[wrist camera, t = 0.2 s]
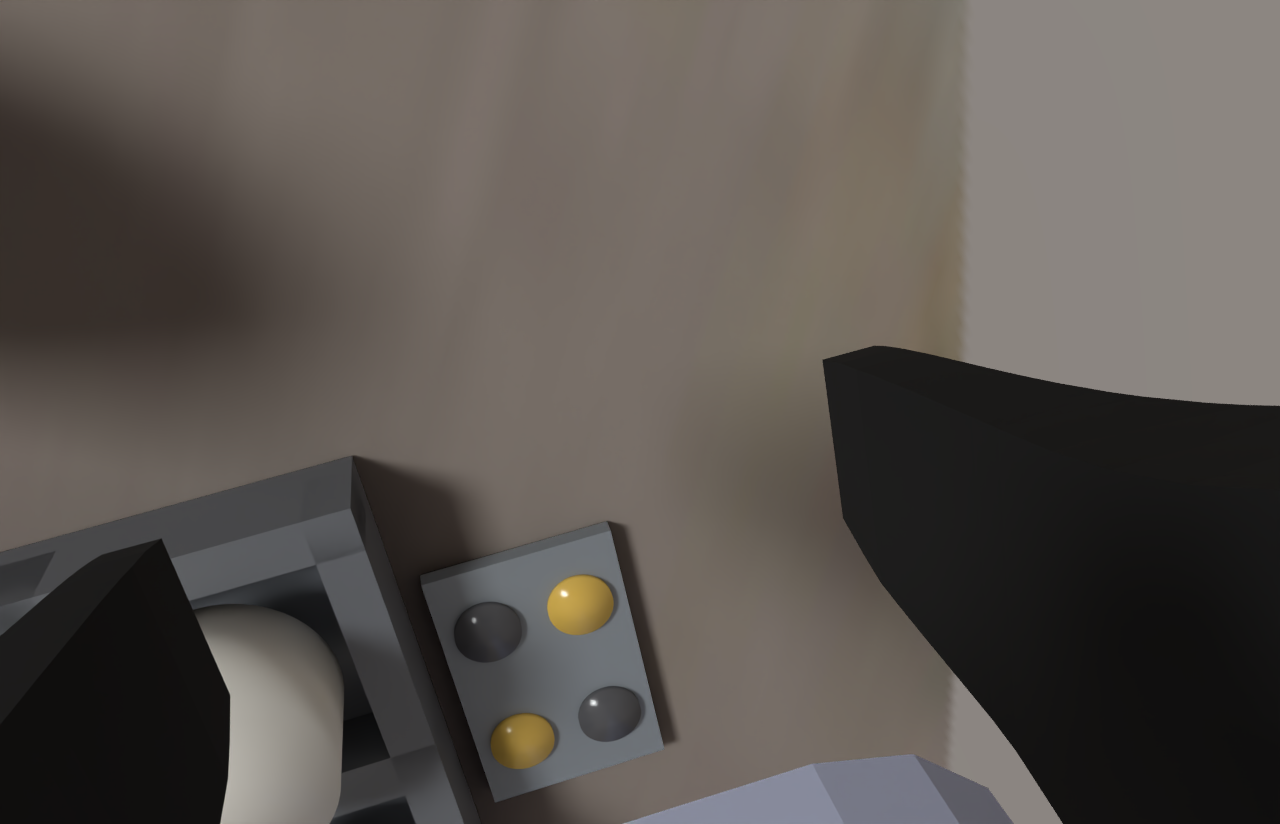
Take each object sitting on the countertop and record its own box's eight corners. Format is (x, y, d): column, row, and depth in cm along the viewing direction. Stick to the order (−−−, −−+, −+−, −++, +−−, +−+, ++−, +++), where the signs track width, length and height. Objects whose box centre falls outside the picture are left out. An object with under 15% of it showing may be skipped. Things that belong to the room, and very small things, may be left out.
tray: (504, 889, 27) (515, 965, 25) (-8, 1056, 25) (-40, 1151, 23) (351, 455, 22) (350, 508, 20) (-301, 635, 20) (-372, 711, 18)
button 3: (370, 744, 22) (370, 841, 20) (165, 807, 22) (141, 913, 19) (305, 577, 20) (297, 662, 18) (81, 641, 20) (42, 736, 17)
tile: (660, 738, 26) (666, 753, 26) (493, 790, 26) (496, 807, 25) (606, 521, 23) (611, 533, 23) (420, 575, 23) (421, 589, 23)
